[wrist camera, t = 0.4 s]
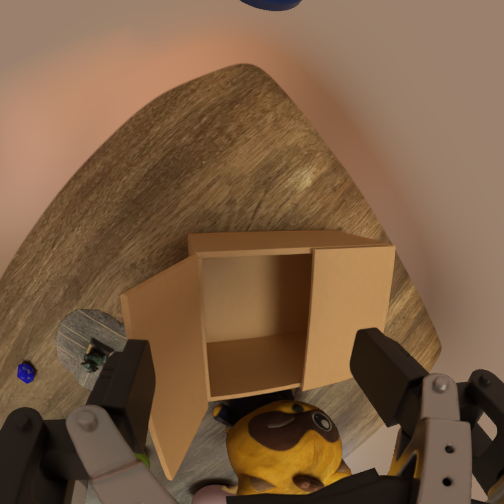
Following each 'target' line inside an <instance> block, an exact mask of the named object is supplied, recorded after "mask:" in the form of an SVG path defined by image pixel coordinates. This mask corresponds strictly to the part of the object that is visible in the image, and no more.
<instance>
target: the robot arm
mask: <svg viewBox="0 0 504 504" xmlns="http://www.w3.org/2000/svg"><path fill="white" fill-rule="evenodd" d="M349 365H350V371H351V374H352V376H353V377H354V379H355V380H356V382H357V383H358V384H359V386H360V387H361V389H362V390H363V392H364V393H365V395H366V396H367V398H368V399H369V401H370V402H371V404H372V405H373V407H374V408H375V410H376V411H377V413H378V414H379V416H380V417H381V419H382V420H383V422H384V423H385V425H386V426H387V427H391V426H393V425H397V424H400V426H401V428H400V429H399V431H398V435H397V440H396V445H395V450H394V455H393V459H392V463H391V467H390V470H389V472H388V474H387V475H380V476H379V475H378V473H377V471H376V470H375V468H372V469H369V470H366V471H363V472H360V473H357V474H354V475H350V476H347V477H343V478H341V479H339V480H337V481H335V482H333V483H331V484H329V485H327V486H325V487H323V488H321V489H319V490H317V491H315V492H313V493H310V494H275V493H261V494H251V495H238V496H226V503H227V504H504V383H503V382H502V381H501V380H500V379H499V378H498V377H496V376H495V375H494V374H493V373H491V372H490V371H487V370H483V369H479V370H475V371H473V372H472V374H471V376H470V378H469V380H468V382H461V383H455V381H454V380H453V379H451V378H450V377H449V376H447V375H444V374H440V373H432V374H429V373H428V372H427V371H426V370H425V369H424V368H423V367H422V366H421V365H420V364H419V363H418V362H417V361H416V360H415V359H414V358H413V357H412V356H410V354H409V353H408V352H407V351H405V349H404V348H403V347H402V346H401V345H400V344H399V343H398V342H396V341H394V340H392V339H390V338H389V337H386V336H385V335H384V334H383V333H382V332H381V331H380V330H379V329H378V328H376V327H373V328H366V329H359V330H358V331H357V333H356V336H355V340H354V345H353V349H352V353H351V358H350V364H349ZM155 387H156V375H155V369H154V364H153V359H152V353H151V348H150V343H149V341H148V340H141V339H128V340H127V343H126V345H125V347H124V349H123V352H119V351H115V352H114V353H113V354H112V355H111V356H109V357H108V358H107V359H106V361H105V363H104V365H103V367H102V370H101V372H100V374H99V378H97V380H96V383H95V385H94V387H93V389H92V391H91V394H90V396H89V398H88V401H87V403H86V405H82V406H79V407H77V408H75V409H73V410H72V411H71V412H70V413H69V414H68V416H67V418H66V419H60V420H43V419H42V417H41V415H40V414H39V412H38V411H36V410H35V409H32V408H28V407H23V408H18V409H16V410H14V411H13V412H11V413H10V414H9V416H8V417H7V419H6V421H5V423H4V425H3V427H2V429H1V431H0V504H71V502H72V497H73V491H74V486H75V481H76V480H89V482H90V484H91V486H92V488H93V490H94V491H95V493H96V495H97V497H98V498H99V500H100V502H101V503H102V504H179V503H178V502H177V501H176V500H175V499H174V498H173V496H172V495H171V494H170V493H169V492H168V491H167V490H166V489H165V487H164V486H163V485H162V484H161V483H160V482H159V480H158V479H157V478H156V477H155V476H154V474H153V473H152V472H151V471H150V469H149V468H148V467H147V466H146V464H145V463H144V462H143V461H142V460H141V459H138V458H137V457H136V455H135V454H134V453H137V454H144V449H145V443H146V436H147V430H148V425H149V419H150V414H151V408H152V403H153V398H154V393H155ZM483 412H485V413H486V414H487V416H488V417H489V418H490V419H491V420H492V421H493V422H494V424H495V425H496V426H497V435H496V437H495V439H494V440H493V441H492V440H491V439H490V438H489V436H488V435H487V434H486V433H485V432H484V430H483V429H482V428H481V427H480V426H479V424H478V423H477V422H478V420H479V419H480V417H481V416H482V414H483ZM472 474H473V475H474V477H475V478H476V480H477V481H478V483H479V484H480V486H481V487H482V489H483V490H484V492H485V493H486V495H487V496H488V500H487V501H486V502H482V501H478V500H474V499H471V488H472Z"/></svg>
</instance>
